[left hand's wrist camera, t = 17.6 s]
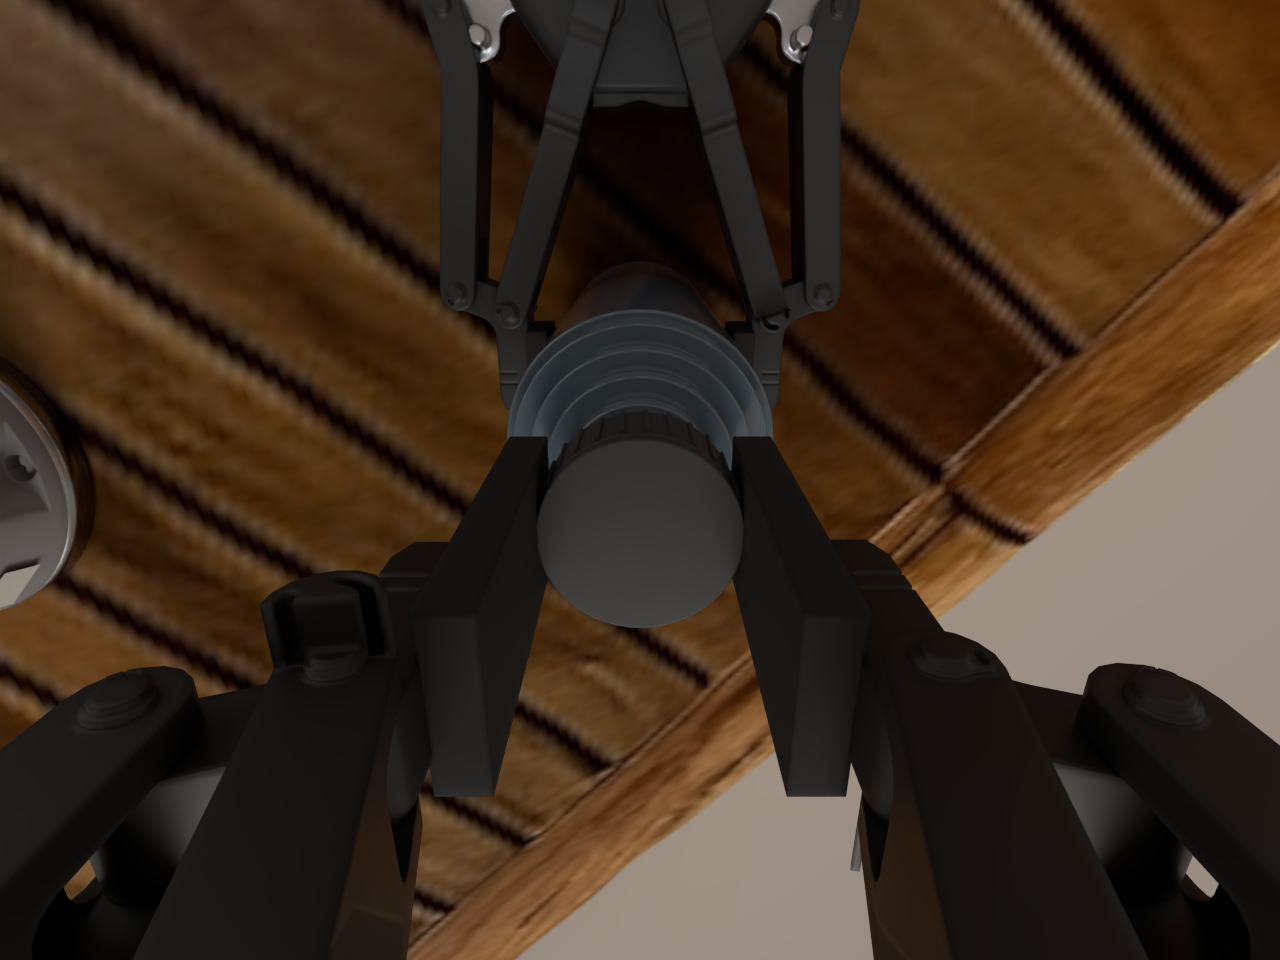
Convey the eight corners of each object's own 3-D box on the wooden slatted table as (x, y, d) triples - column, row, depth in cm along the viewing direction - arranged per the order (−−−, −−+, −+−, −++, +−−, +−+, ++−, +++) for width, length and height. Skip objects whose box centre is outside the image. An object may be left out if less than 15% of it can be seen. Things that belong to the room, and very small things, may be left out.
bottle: (545, 363, 33) (406, 588, 13) (609, 232, 31) (557, 272, 11) (666, 427, 34) (703, 721, 15) (737, 306, 32) (893, 458, 12)
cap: (754, 556, 15) (769, 601, 13) (579, 603, 15) (572, 652, 13) (708, 383, 13) (718, 409, 12) (517, 439, 14) (500, 471, 12)
